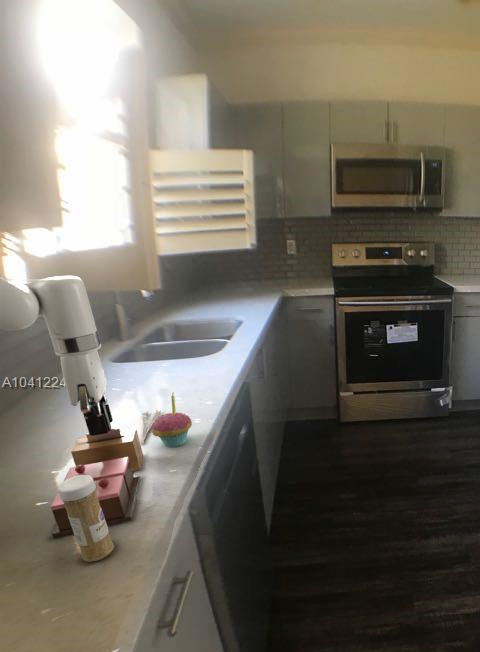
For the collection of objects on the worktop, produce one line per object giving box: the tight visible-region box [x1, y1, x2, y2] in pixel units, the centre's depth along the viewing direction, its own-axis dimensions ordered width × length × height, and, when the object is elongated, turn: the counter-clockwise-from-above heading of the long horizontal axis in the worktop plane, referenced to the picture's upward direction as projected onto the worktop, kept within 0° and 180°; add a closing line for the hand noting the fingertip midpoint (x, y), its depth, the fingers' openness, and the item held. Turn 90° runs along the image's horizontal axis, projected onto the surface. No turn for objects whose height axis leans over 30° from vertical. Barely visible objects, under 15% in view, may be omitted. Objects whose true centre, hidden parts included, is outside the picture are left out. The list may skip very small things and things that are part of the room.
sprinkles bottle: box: [57, 475, 115, 563], centre depth 71 cm, size 5×5×13 cm
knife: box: [85, 402, 122, 443], centre depth 94 cm, size 6×2×14 cm, turn 110°
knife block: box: [70, 428, 144, 473], centre depth 96 cm, size 11×6×7 cm, turn 111°
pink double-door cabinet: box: [50, 457, 142, 539], centre depth 84 cm, size 12×14×7 cm
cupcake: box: [151, 392, 193, 448], centre depth 105 cm, size 9×8×12 cm
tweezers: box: [141, 409, 162, 445], centre depth 115 cm, size 17×5×2 cm, turn 18°
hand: (101, 427), depth 94 cm, fingers open, 4 cm apart
